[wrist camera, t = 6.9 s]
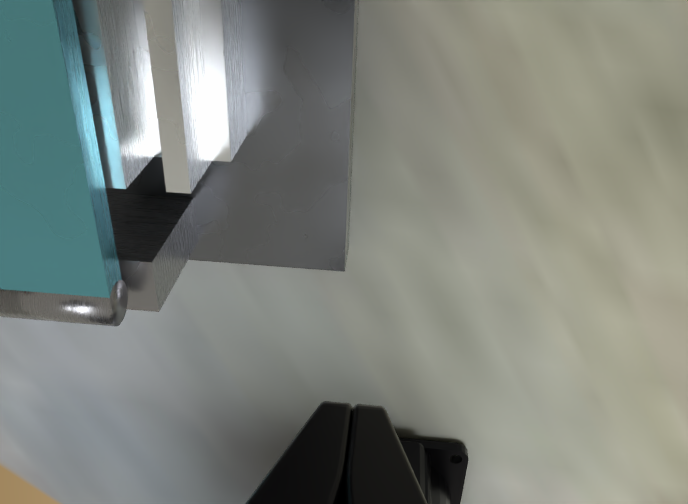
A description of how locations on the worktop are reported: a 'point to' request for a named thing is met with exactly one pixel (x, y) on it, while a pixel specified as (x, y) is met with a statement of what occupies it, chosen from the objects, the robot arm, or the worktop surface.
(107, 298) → the bar
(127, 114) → the heat sink base
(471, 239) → the worktop surface
